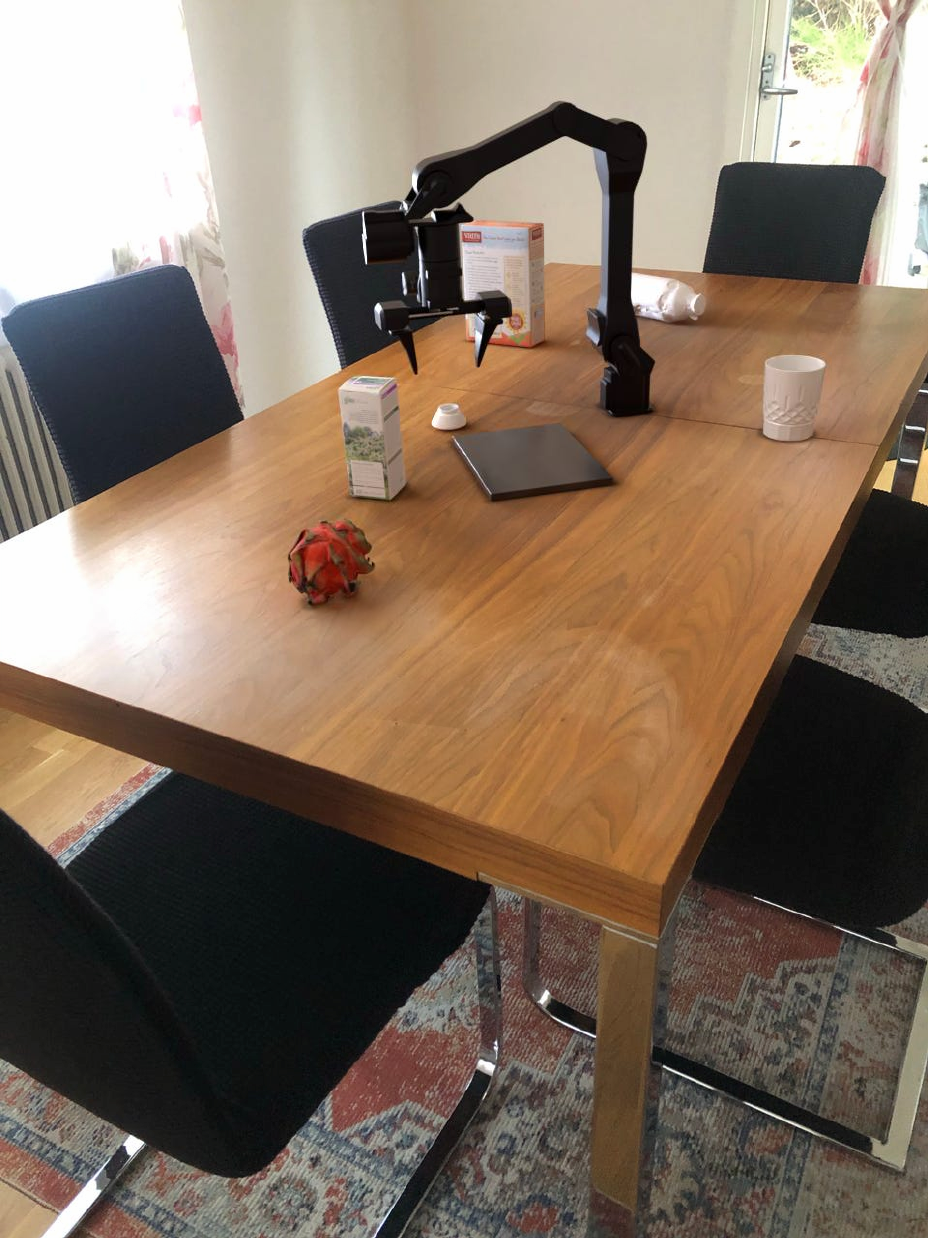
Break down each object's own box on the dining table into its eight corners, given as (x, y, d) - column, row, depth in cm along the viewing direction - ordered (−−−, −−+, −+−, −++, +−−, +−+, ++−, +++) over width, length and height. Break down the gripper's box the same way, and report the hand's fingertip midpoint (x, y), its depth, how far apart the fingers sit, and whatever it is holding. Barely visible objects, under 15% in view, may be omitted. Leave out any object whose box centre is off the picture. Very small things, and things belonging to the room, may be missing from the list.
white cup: (820, 427, 146) (830, 357, 141) (811, 446, 140) (821, 373, 135) (764, 421, 149) (771, 352, 144) (752, 440, 143) (759, 368, 138)
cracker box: (546, 340, 192) (545, 221, 182) (530, 349, 188) (528, 227, 177) (482, 333, 199) (477, 217, 188) (465, 341, 195) (460, 223, 184)
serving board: (560, 429, 151) (560, 422, 150) (612, 484, 132) (612, 477, 132) (453, 442, 148) (452, 436, 148) (491, 501, 129) (491, 494, 129)
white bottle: (685, 332, 193) (688, 288, 189) (609, 316, 205) (610, 274, 201) (712, 323, 197) (715, 280, 193) (635, 308, 210) (637, 267, 206)
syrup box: (407, 484, 135) (398, 375, 128) (390, 502, 131) (379, 390, 123) (367, 480, 137) (356, 373, 130) (348, 498, 132) (336, 387, 125)
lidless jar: (464, 431, 152) (467, 420, 156) (463, 412, 150) (466, 401, 155) (430, 432, 152) (434, 420, 157) (429, 412, 151) (433, 401, 155)
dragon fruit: (367, 578, 116) (320, 644, 108) (304, 534, 116) (252, 597, 107) (400, 531, 111) (353, 598, 102) (334, 485, 110) (281, 548, 101)
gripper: (491, 241, 151) (495, 348, 158) (364, 254, 147) (374, 362, 155) (511, 255, 141) (514, 368, 149) (376, 269, 138) (386, 384, 146)
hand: (446, 370), depth 150 cm, fingers open, 9 cm apart
